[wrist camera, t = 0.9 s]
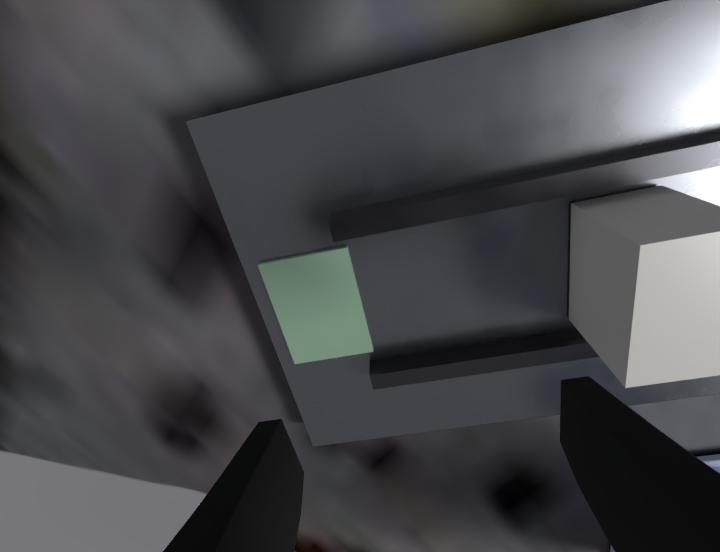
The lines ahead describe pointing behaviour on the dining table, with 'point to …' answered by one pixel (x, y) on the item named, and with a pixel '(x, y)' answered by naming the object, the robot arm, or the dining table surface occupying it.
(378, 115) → the breaker panel
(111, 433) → the dining table surface
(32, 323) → the dining table surface
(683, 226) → the switch handle
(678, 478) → the robot arm
